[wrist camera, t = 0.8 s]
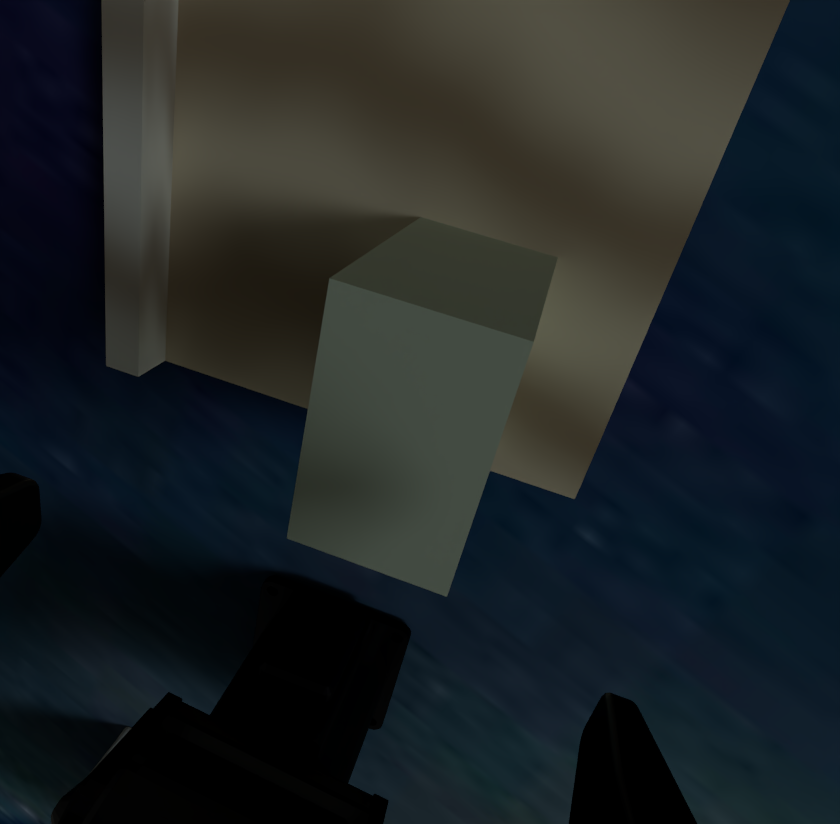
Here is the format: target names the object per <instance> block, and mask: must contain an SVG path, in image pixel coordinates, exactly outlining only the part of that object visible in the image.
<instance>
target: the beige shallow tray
mask: <svg viewBox="0 0 840 824" xmlns="http://www.w3.org/2000/svg"><path fill="white" fill-rule="evenodd" d="M789 1H790V0H102V77H103V157H104V237H105V317H106V366H108V367H111V368H114V369H117V370H120V371H123V372H126V373H129V374H131V375H134V376H137V377H139V376H141V375H142V374H144V373H146V372H147V371H149V370H150V369H152V368H154V367H155V366H157V365H159V364H160V363H162V362H164V361H168V362H171V363H174V364H177V365H180V366H183V367H186V368H188V369H191V370H194V371H197V372H200V373H203V374H206V375H209V376H212V377H215V378H218V379H221V380H224V381H227V382H230V383H233V384H236V385H239V386H242V387H245V388H248V389H251V390H254V391H256V392H259V393H262V394H265V395H268V396H271V397H274V398H277V399H280V400H283V401H286V402H289V403H292V404H295V405H298V406H301V407H304V408H307V409H308V406H309V400H310V394H311V388H312V381H313V375H314V369H315V363H316V357H317V351H318V345H319V339H320V333H321V326H322V320H323V314H324V308H325V302H326V296H327V290H328V284H329V278H330V277H332V276H333V275H335V274H336V273H338V272H339V271H341V270H342V269H344V268H345V267H347V266H348V265H350V264H351V263H353V262H354V261H356V260H357V259H359V258H360V257H362V256H363V255H365V254H366V253H368V252H369V251H371V250H372V249H374V248H375V247H377V246H378V245H380V244H381V243H383V242H384V241H386V240H387V239H389V238H390V237H392V236H393V235H395V234H396V233H398V232H399V231H401V230H402V229H404V228H405V227H407V226H408V225H410V224H411V223H413V222H414V221H416V220H417V219H419V218H420V217H423V218H426V219H429V220H433V221H436V222H440V223H443V224H446V225H450V226H453V227H457V228H460V229H463V230H467V231H470V232H474V233H477V234H480V235H484V236H487V237H490V238H494V239H497V240H501V241H504V242H507V243H511V244H514V245H518V246H521V247H524V248H528V249H531V250H535V251H538V252H541V253H545V254H548V255H552V256H555V257H558V259H557V262H556V266H555V269H554V273H553V276H552V280H551V283H550V287H549V290H548V294H547V297H546V301H545V304H544V308H543V311H542V315H541V318H540V322H539V325H538V329H537V332H536V336H535V339H534V343H533V346H532V349H531V351H530V354H529V357H528V360H527V363H526V366H525V369H524V372H523V375H522V378H521V381H520V384H519V387H518V390H517V392H516V395H515V398H514V401H513V404H512V407H511V410H510V413H509V416H508V419H507V422H506V425H505V428H504V431H503V434H502V436H501V439H500V442H499V445H498V448H497V451H496V454H495V457H494V460H493V463H492V466H491V469H490V471H493V472H496V473H499V474H502V475H505V476H508V477H511V478H514V479H517V480H519V481H522V482H525V483H528V484H531V485H534V486H537V487H540V488H543V489H546V490H549V491H552V492H555V493H558V494H561V495H564V496H567V497H570V498H573V499H575V497H576V495H577V493H578V490H579V488H580V486H581V483H582V481H583V479H584V476H585V474H586V472H587V470H588V467H589V465H590V463H591V460H592V458H593V456H594V453H595V451H596V449H597V446H598V444H599V442H600V439H601V437H602V435H603V432H604V430H605V428H606V425H607V423H608V421H609V418H610V416H611V414H612V412H613V409H614V407H615V405H616V402H617V400H618V398H619V395H620V393H621V391H622V388H623V386H624V384H625V381H626V379H627V377H628V374H629V372H630V370H631V367H632V365H633V363H634V360H635V358H636V356H637V354H638V351H639V349H640V347H641V344H642V342H643V340H644V337H645V335H646V333H647V330H648V328H649V326H650V323H651V321H652V319H653V316H654V314H655V312H656V309H657V307H658V305H659V302H660V300H661V298H662V296H663V293H664V291H665V289H666V286H667V284H668V282H669V279H670V277H671V275H672V272H673V270H674V268H675V265H676V263H677V261H678V258H679V256H680V254H681V251H682V249H683V247H684V244H685V242H686V240H687V238H688V235H689V233H690V231H691V228H692V226H693V224H694V221H695V219H696V217H697V214H698V212H699V210H700V207H701V205H702V203H703V200H704V198H705V196H706V193H707V191H708V189H709V186H710V184H711V182H712V180H713V177H714V175H715V173H716V170H717V168H718V166H719V163H720V161H721V159H722V156H723V154H724V152H725V149H726V147H727V145H728V142H729V140H730V138H731V135H732V133H733V131H734V128H735V126H736V124H737V122H738V119H739V117H740V115H741V112H742V110H743V108H744V105H745V103H746V101H747V98H748V96H749V94H750V91H751V89H752V87H753V84H754V82H755V80H756V77H757V75H758V73H759V70H760V68H761V66H762V64H763V61H764V59H765V57H766V54H767V52H768V50H769V47H770V45H771V43H772V40H773V38H774V36H775V33H776V31H777V29H778V26H779V24H780V22H781V19H782V17H783V15H784V12H785V10H786V8H787V6H788V3H789Z"/></svg>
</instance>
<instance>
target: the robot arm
mask: <svg viewBox="0 0 840 824" xmlns="http://www.w3.org/2000/svg"><path fill="white" fill-rule="evenodd" d="M40 526H41V507H40V493H39V486H38V484H37V483H36V481H34V480H32V479H30V478H27V477H24V476H21V475H19V474H16V473H5V474H0V577H1V576H2V575H3V574H4V572H5V571H6V570H7V569H8V568H9V567H10V565H11V564H12V563H13V562H14V561H15V560H16V558H17V557H18V556H19V555H20V554H21V553H22V551H23V550H24V549H25V548H26V547H27V546H28V544H29V543H30V542H31V541H32V540H33V539H34V537H35V536H36V534H37V533H38V531H39V529H40ZM273 587H274V588H273ZM275 588H276V589H275ZM395 633H398V634H399V635H397V634H395ZM400 635H401V636H400ZM410 636H411V631H410V628H409V627H408V626H407V625H406V624H404V623H402V622H399V621H397V620H394V619H391V618H389V617H386V616H383V615H381V614H378V613H375V612H373V611H370V610H367V609H365V608H362V607H359V606H357V605H354V604H351V603H348V602H346V601H343V600H340V599H338V598H335V597H332V596H330V595H327V594H324V593H322V592H319V591H316V590H314V589H311V588H308V587H306V586H303V585H300V584H298V583H295V582H292V581H290V580H287V579H284V578H281V577H279V576H275V575H273V576H269V577H268V578H267V579H266V580H265V582H264V583H263V585H262V587H261V594H260V601H259V608H258V614H257V621H256V628H255V635H254V642H253V648H252V649H251V651H250V653H249V654H248V656H247V657H246V659H245V660H244V662H243V664H242V665H241V667H240V668H239V670H238V671H237V673H236V675H235V676H234V678H233V679H232V681H231V682H230V684H229V686H228V687H227V689H226V690H225V692H224V694H223V695H222V697H221V698H220V700H219V701H218V703H217V705H216V706H215V708H214V709H213V711H212V712H211V714H210V715H208V714H206V713H204V712H202V711H200V710H198V709H196V708H194V707H192V706H190V705H188V704H186V703H184V702H182V698H180V697H178V696H176V695H174V694H172V693H170V692H168V693H167V694H166V695H165V696H164V698H163V699H162V700H161V701H160V702H159V703H158V704H157V705H156V706H155V707H154V708H150V709H149V710H148V711H147V712H146V713H145V714H144V715H143V716H142V717H141V718H140V719H139V721H138V722H137V723H136V724H135V725H134V726H133V727H132V728H131V729H130V730H129V731H128V733H127V734H126V735H125V736H124V737H123V738H122V739H121V740H120V741H119V742H118V743H117V745H116V746H115V747H114V748H113V749H112V750H111V751H110V752H109V753H108V754H107V755H106V757H105V758H104V759H103V760H102V761H101V762H100V763H99V764H98V765H97V766H96V767H95V769H94V770H93V771H92V772H91V773H90V774H89V775H88V776H87V777H86V778H85V779H84V780H83V781H82V782H80V783H79V784H78V785H77V786H75V787H74V788H73V789H72V790H71V791H69V792H68V793H67V794H66V795H64V796H63V797H62V798H61V800H60V801H59V802H58V804H57V805H56V807H55V808H54V810H53V812H52V815H51V822H52V824H383V822H384V818H385V814H386V809H387V805H388V800H387V799H385V798H383V797H381V796H379V795H377V794H374V795H373V796H372V795H370V794H368V793H366V792H364V791H362V790H360V789H358V788H356V787H354V786H352V785H350V784H348V782H349V780H350V777H351V774H352V771H353V769H354V766H355V763H356V761H357V758H358V755H359V753H360V750H361V747H362V745H363V742H364V739H365V737H366V734H367V731H368V729H373V730H374V729H379V728H381V726H382V724H383V721H384V718H385V715H386V712H387V709H388V706H389V702H390V699H391V696H392V693H393V690H394V687H395V683H396V680H397V677H398V674H399V671H400V668H401V664H402V661H403V658H404V655H405V652H406V649H407V645H408V642H409V639H410ZM569 824H697V822H696V820H695V818H694V817H693V815H692V813H691V811H690V809H689V807H688V805H687V803H686V801H685V799H684V797H683V795H682V793H681V791H680V789H679V787H678V785H677V783H676V781H675V779H674V777H673V775H672V773H671V771H670V769H669V767H668V765H667V763H666V761H665V760H664V758H663V756H662V754H661V752H660V750H659V748H658V746H657V744H656V742H655V740H654V738H653V736H652V734H651V732H650V730H649V728H648V726H647V724H646V722H645V720H644V718H643V716H642V714H641V712H640V710H639V708H638V707H637V705H636V704H635V703H634V702H633V701H631V700H629V699H626V698H623V697H620V696H618V695H615V694H612V693H605V694H604V695H603V696H602V697H601V698H600V700H599V702H598V704H597V706H596V707H595V709H594V711H593V713H592V715H591V717H590V718H589V720H588V722H587V724H586V726H585V728H584V730H583V733H582V736H581V741H580V746H579V753H578V761H577V768H576V775H575V783H574V790H573V797H572V804H571V812H570V819H569Z"/></svg>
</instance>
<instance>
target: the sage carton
mask: <svg viewBox="0 0 840 824" xmlns="http://www.w3.org/2000/svg"><path fill="white" fill-rule="evenodd" d="M557 259H558V257H555V256H552V255H548V254H545V253H541V252H538V251H535V250H531V249H528V248H524V247H521V246H518V245H514V244H511V243H507V242H504V241H501V240H497V239H494V238H490V237H487V236H484V235H480V234H477V233H474V232H470V231H467V230H463V229H460V228H457V227H453V226H450V225H446V224H443V223H440V222H436V221H433V220H429V219H426V218H423V217H420V218H419V219H417V220H416V221H414V222H413V223H411V224H410V225H408V226H407V227H405V228H404V229H402V230H401V231H399V232H398V233H396V234H395V235H393V236H392V237H390V238H389V239H387V240H386V241H384V242H383V243H381V244H380V245H378V246H377V247H375V248H374V249H372V250H371V251H369V252H368V253H366V254H365V255H363V256H362V257H360V258H359V259H357V260H356V261H354V262H353V263H351V264H350V265H348V266H347V267H345V268H344V269H342V270H341V271H339V272H338V273H336V274H335V275H333V276H332V277H330V278H329V284H328V290H327V296H326V302H325V308H324V314H323V320H322V326H321V333H320V339H319V345H318V351H317V357H316V363H315V369H314V375H313V381H312V388H311V394H310V400H309V406H308V412H307V418H306V424H305V430H304V436H303V443H302V449H301V455H300V461H299V467H298V473H297V479H296V485H295V491H294V498H293V504H292V510H291V516H290V522H289V528H288V534H287V539H290V540H293V541H296V542H298V543H301V544H304V545H307V546H309V547H312V548H315V549H318V550H320V551H323V552H326V553H329V554H331V555H334V556H337V557H339V558H342V559H345V560H348V561H350V562H353V563H356V564H359V565H361V566H364V567H367V568H370V569H372V570H375V571H378V572H381V573H383V574H386V575H389V576H392V577H394V578H397V579H400V580H402V581H405V582H408V583H411V584H413V585H416V586H419V587H422V588H424V589H427V590H430V591H433V592H435V593H438V594H441V595H444V596H446V597H447V595H448V592H449V589H450V586H451V583H452V580H453V577H454V574H455V571H456V568H457V565H458V562H459V560H460V557H461V554H462V551H463V548H464V545H465V542H466V539H467V536H468V533H469V530H470V527H471V524H472V521H473V519H474V516H475V513H476V510H477V507H478V504H479V501H480V498H481V495H482V492H483V489H484V486H485V483H486V480H487V477H488V475H489V472H490V469H491V466H492V463H493V460H494V457H495V454H496V451H497V448H498V445H499V442H500V439H501V436H502V434H503V431H504V428H505V425H506V422H507V419H508V416H509V413H510V410H511V407H512V404H513V401H514V398H515V395H516V392H517V390H518V387H519V384H520V381H521V378H522V375H523V372H524V369H525V366H526V363H527V360H528V357H529V354H530V351H531V349H532V346H533V343H534V339H535V336H536V332H537V329H538V325H539V322H540V318H541V315H542V311H543V308H544V304H545V301H546V297H547V294H548V290H549V287H550V283H551V280H552V276H553V273H554V269H555V266H556V262H557Z"/></svg>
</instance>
